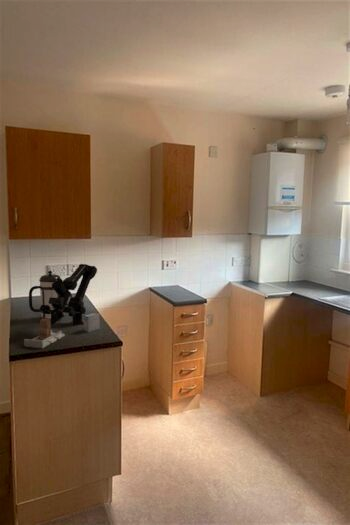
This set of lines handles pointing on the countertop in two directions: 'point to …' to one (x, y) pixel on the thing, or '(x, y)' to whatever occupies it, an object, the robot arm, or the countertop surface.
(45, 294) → the coffee press
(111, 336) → the countertop surface
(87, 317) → the medicine box
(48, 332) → the slider
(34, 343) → the track
